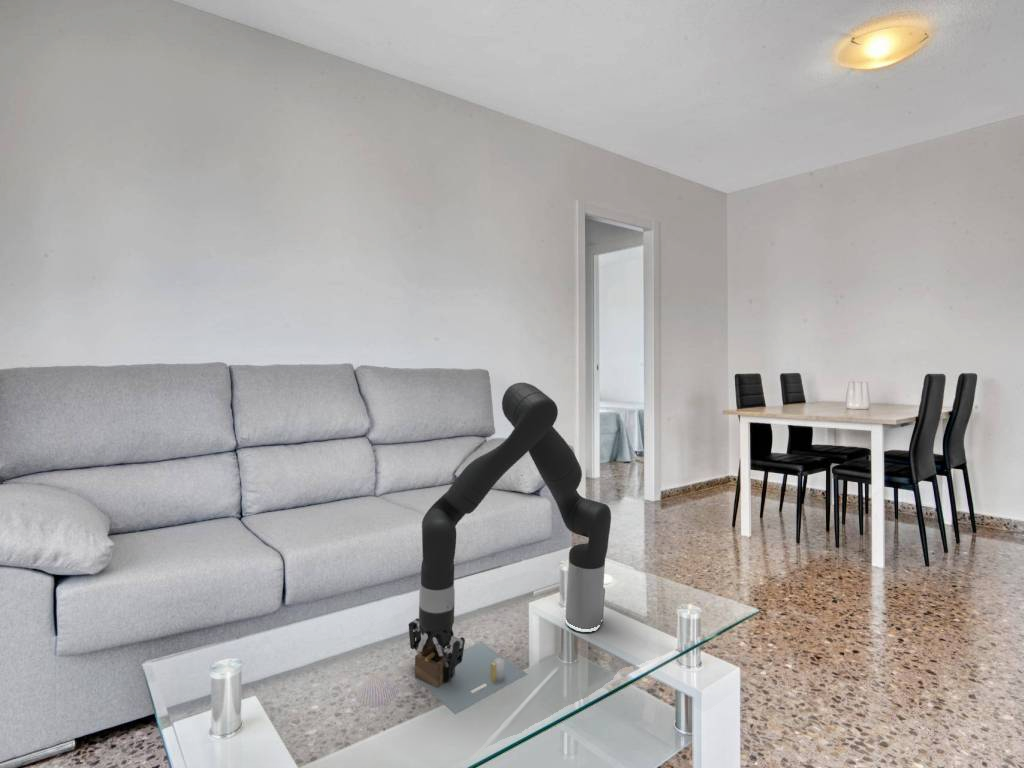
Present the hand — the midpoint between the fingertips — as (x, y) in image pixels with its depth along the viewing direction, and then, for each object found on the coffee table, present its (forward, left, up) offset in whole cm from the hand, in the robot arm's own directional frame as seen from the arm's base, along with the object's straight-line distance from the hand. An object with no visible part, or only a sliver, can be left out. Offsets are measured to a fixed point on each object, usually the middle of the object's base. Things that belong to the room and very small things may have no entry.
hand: (435, 674), depth 129 cm
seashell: (+12, -3, -2) cm, 13 cm away
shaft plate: (-6, +4, -2) cm, 8 cm away
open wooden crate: (0, 0, 0) cm, 0 cm away
